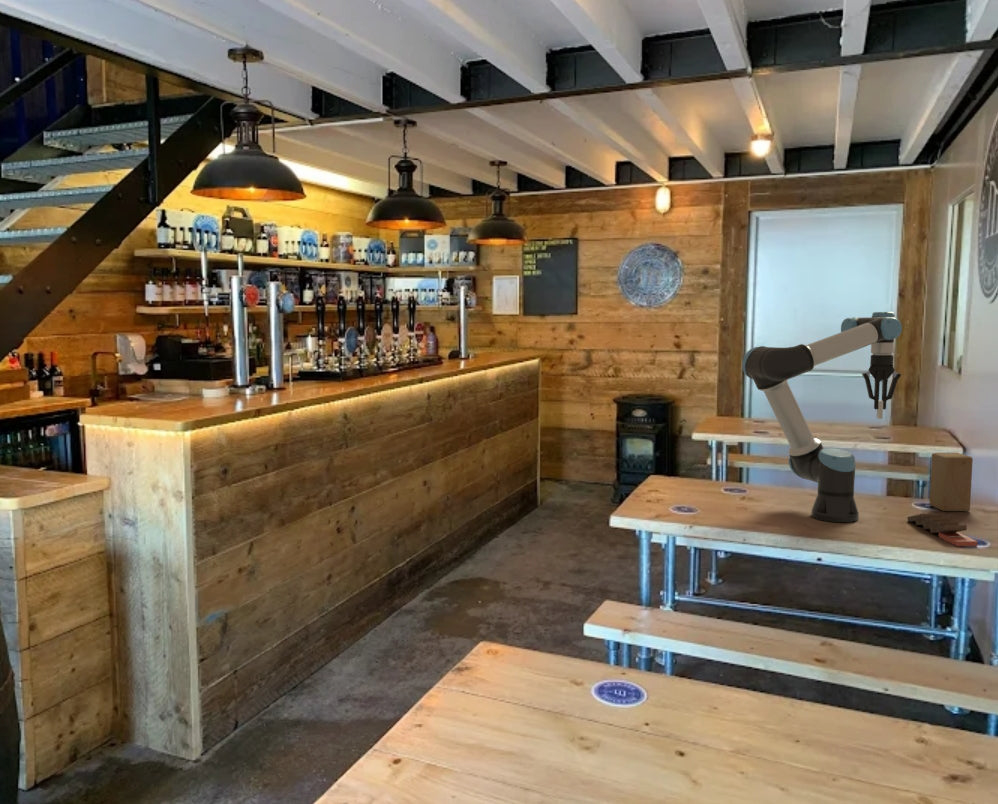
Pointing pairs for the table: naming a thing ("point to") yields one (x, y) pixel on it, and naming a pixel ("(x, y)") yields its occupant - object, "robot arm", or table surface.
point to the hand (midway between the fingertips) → (879, 418)
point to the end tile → (957, 539)
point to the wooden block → (951, 481)
